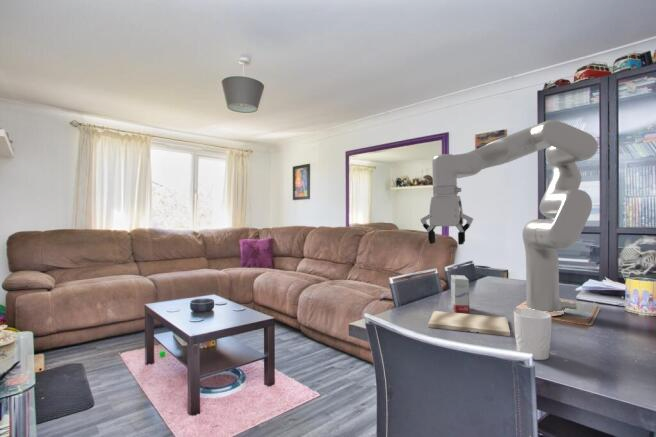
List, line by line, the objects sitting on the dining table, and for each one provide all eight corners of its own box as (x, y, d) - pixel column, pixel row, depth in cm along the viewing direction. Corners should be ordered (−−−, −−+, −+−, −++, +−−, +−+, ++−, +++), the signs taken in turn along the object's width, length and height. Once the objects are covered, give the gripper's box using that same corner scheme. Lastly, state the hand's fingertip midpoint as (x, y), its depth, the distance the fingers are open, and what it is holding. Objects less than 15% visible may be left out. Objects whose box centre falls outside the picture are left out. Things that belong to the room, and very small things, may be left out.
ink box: (470, 313, 117) (469, 279, 117) (454, 313, 118) (454, 279, 118) (465, 306, 125) (464, 274, 125) (451, 306, 126) (450, 274, 126)
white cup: (508, 348, 87) (507, 309, 87) (539, 347, 87) (539, 308, 87) (524, 361, 80) (524, 318, 79) (559, 361, 79) (559, 318, 79)
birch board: (506, 321, 108) (506, 317, 108) (510, 336, 96) (510, 331, 96) (433, 314, 117) (433, 310, 117) (428, 327, 104) (428, 323, 104)
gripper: (475, 190, 111) (476, 243, 112) (424, 194, 122) (426, 242, 123) (468, 190, 106) (469, 245, 106) (415, 193, 117) (417, 244, 117)
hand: (446, 243), depth 114 cm, fingers open, 9 cm apart
